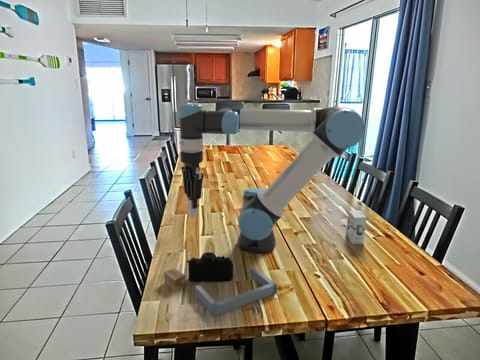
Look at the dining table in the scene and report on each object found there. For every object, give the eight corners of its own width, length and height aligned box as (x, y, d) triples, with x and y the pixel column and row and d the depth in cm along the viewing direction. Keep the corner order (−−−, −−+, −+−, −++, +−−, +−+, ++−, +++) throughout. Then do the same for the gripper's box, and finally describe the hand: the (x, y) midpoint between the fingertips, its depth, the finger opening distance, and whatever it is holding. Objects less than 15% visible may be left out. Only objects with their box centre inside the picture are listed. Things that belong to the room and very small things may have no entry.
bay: (254, 275, 119) (254, 267, 118) (276, 292, 110) (277, 284, 109) (195, 294, 108) (195, 286, 107) (214, 316, 98) (214, 307, 97)
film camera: (232, 267, 124) (232, 244, 122) (232, 283, 115) (233, 257, 112) (189, 267, 124) (188, 244, 121) (185, 283, 114) (185, 257, 112)
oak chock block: (174, 279, 116) (174, 268, 115) (185, 286, 112) (185, 275, 111) (164, 283, 114) (163, 272, 113) (175, 291, 110) (174, 279, 109)
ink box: (345, 235, 152) (347, 209, 149) (356, 235, 152) (359, 209, 149) (351, 244, 144) (354, 217, 140) (363, 244, 144) (367, 217, 141)
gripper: (173, 147, 124) (175, 211, 130) (190, 155, 112) (191, 224, 119) (192, 146, 128) (193, 207, 134) (211, 153, 116) (211, 220, 123)
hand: (192, 215), depth 126 cm, fingers closed
